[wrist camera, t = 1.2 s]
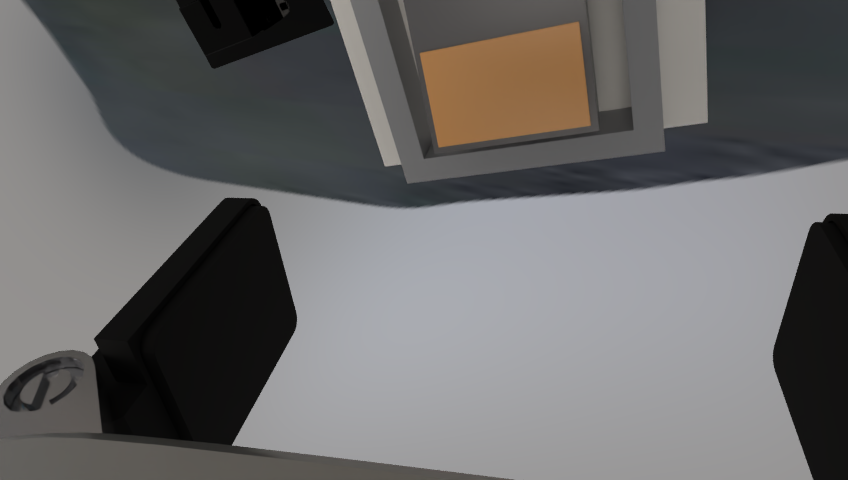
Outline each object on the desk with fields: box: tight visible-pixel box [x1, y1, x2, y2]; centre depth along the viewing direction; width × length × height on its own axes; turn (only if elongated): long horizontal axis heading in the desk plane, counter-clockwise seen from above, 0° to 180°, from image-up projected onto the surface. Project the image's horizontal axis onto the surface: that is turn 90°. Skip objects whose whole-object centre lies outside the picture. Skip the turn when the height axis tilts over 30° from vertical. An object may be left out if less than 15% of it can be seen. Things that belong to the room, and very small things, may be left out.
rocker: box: [403, 0, 600, 154], centre depth 25 cm, size 7×10×2 cm
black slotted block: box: [176, 0, 334, 69], centre depth 37 cm, size 12×7×5 cm, turn 112°
